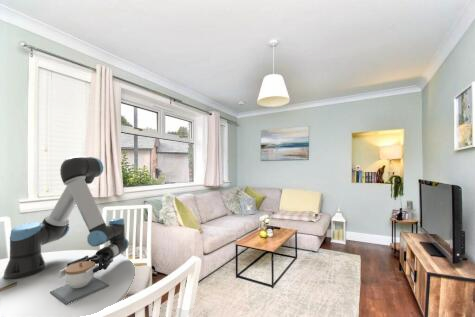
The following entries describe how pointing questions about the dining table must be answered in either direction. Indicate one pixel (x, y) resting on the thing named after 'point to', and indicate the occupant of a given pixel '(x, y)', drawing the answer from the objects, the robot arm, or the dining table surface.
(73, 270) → the lidded jar
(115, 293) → the dining table surface
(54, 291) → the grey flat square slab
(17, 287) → the dining table surface
